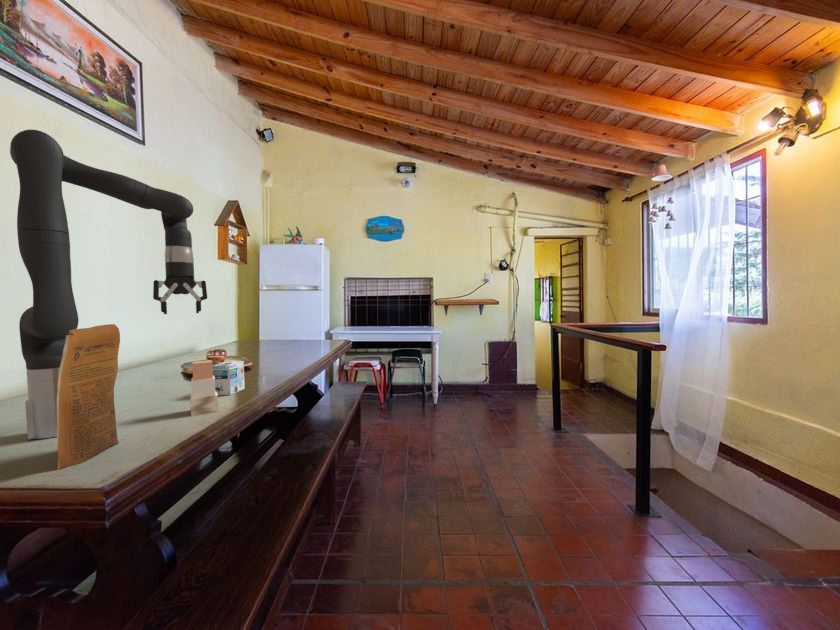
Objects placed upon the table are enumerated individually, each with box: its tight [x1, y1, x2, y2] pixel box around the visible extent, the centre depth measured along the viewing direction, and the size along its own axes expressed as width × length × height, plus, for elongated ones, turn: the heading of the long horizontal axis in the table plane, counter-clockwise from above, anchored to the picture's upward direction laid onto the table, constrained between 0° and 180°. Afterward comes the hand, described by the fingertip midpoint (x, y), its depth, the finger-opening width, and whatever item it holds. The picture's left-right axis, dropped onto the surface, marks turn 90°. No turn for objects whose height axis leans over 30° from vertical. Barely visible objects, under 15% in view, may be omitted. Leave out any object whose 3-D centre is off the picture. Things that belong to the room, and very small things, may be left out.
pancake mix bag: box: [56, 323, 121, 470], centre depth 82 cm, size 7×19×28 cm, turn 7°
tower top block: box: [190, 376, 216, 398], centre depth 113 cm, size 6×6×5 cm
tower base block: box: [189, 391, 220, 417], centre depth 114 cm, size 7×7×5 cm
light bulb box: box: [212, 360, 246, 396], centre depth 138 cm, size 11×7×11 cm, turn 179°
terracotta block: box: [191, 359, 213, 381], centre depth 113 cm, size 5×5×5 cm
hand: (181, 313), depth 118 cm, fingers open, 8 cm apart
